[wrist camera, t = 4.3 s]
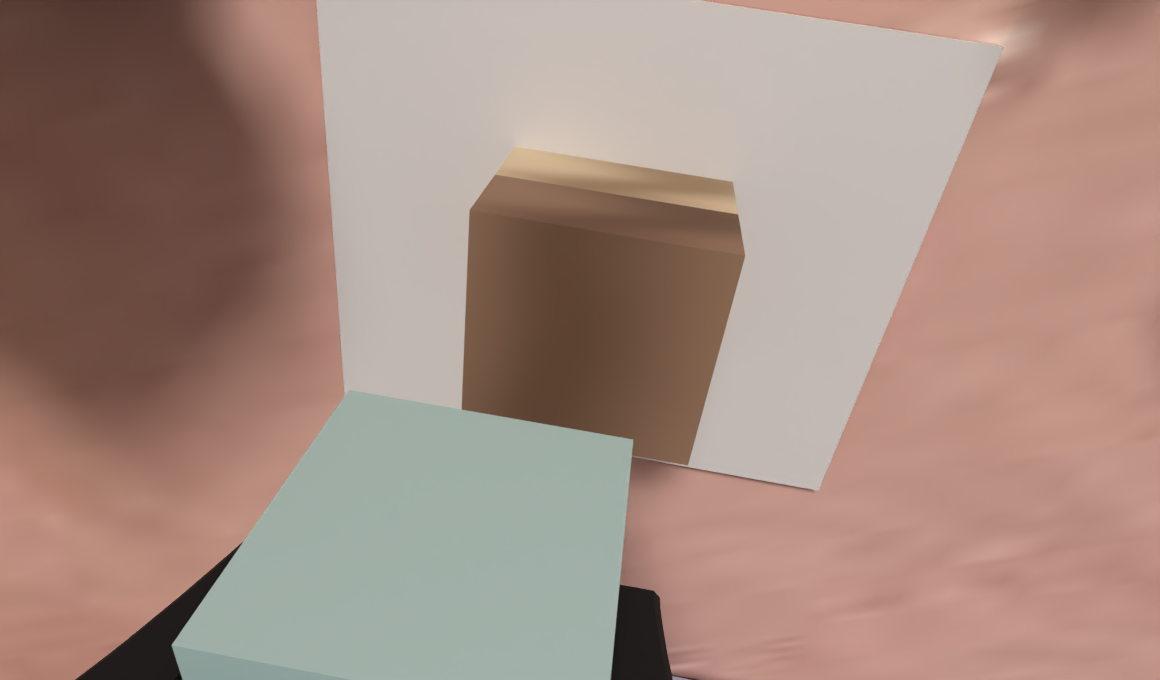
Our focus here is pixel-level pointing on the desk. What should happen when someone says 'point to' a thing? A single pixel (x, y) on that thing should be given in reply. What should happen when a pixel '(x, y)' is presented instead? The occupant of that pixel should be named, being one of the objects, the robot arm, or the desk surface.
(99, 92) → the desk surface
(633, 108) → the mat
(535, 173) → the tower base
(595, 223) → the tower mid
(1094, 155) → the desk surface
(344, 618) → the block
